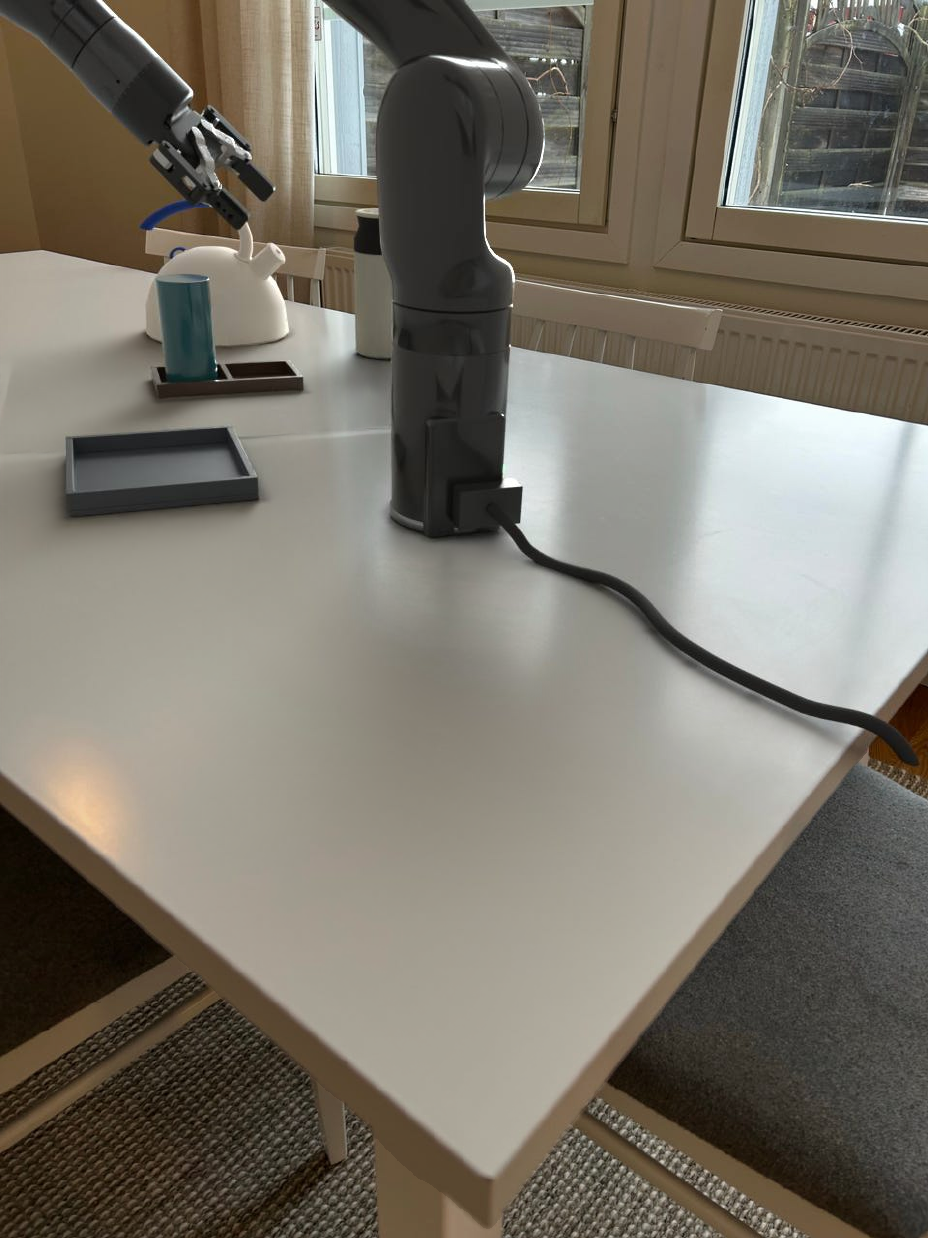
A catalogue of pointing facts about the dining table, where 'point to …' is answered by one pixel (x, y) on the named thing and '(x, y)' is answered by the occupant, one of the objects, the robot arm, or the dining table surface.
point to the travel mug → (371, 289)
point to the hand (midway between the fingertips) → (258, 209)
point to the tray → (156, 470)
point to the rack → (234, 380)
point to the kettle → (227, 286)
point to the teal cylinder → (186, 327)
